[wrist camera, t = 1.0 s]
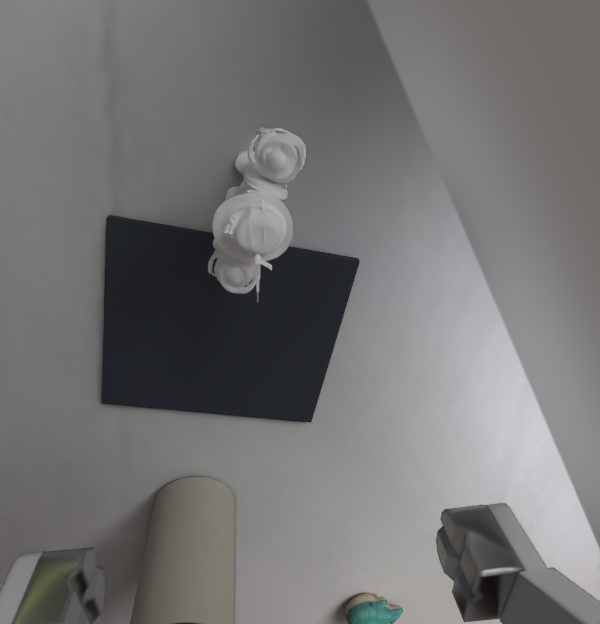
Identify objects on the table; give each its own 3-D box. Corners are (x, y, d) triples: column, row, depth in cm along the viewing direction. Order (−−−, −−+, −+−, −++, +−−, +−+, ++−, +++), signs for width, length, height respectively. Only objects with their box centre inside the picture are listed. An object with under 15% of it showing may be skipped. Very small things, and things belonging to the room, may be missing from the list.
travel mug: (137, 496, 43) (78, 740, 27) (207, 461, 42) (187, 695, 26) (185, 538, 47) (158, 774, 31) (251, 507, 46) (256, 736, 30)
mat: (108, 214, 30) (106, 217, 30) (358, 258, 34) (360, 261, 33) (103, 399, 37) (101, 403, 37) (310, 418, 41) (311, 422, 40)
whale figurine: (357, 584, 55) (364, 618, 51) (406, 592, 57) (417, 624, 53) (336, 611, 57) (342, 644, 54) (384, 617, 59) (393, 650, 56)
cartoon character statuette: (254, 250, 33) (261, 335, 22) (202, 232, 32) (183, 312, 21) (301, 127, 29) (337, 160, 19) (245, 102, 28) (248, 121, 17)
